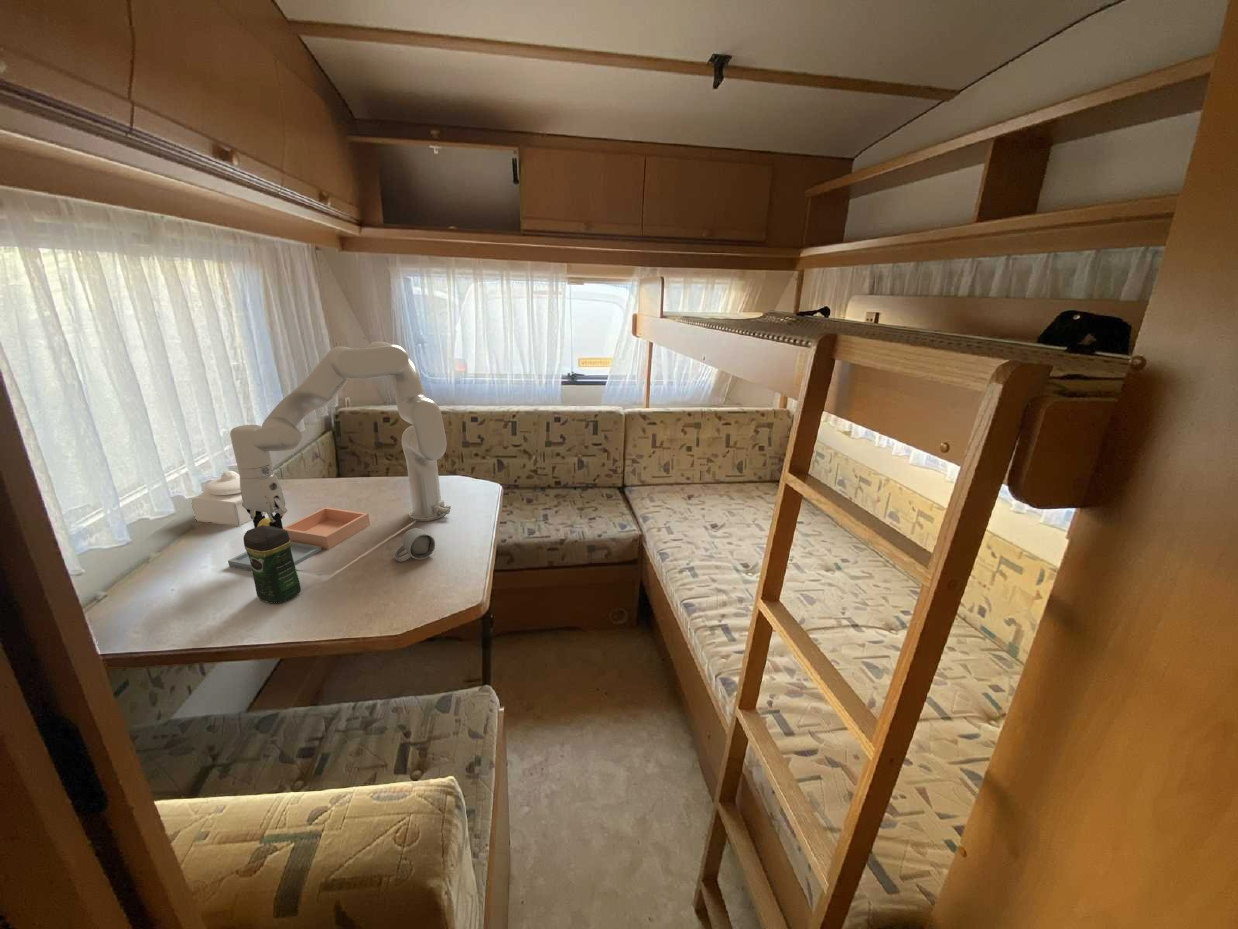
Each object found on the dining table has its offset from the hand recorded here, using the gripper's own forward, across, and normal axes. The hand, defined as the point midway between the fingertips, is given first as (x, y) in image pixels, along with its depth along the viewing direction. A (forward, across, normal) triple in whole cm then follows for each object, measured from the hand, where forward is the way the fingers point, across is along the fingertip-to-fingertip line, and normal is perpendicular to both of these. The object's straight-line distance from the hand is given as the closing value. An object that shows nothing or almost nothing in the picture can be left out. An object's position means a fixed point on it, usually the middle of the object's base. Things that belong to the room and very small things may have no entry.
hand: (269, 531), depth 141 cm
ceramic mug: (+9, -36, -14) cm, 40 cm away
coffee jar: (+9, -16, +13) cm, 23 cm away
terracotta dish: (+9, -2, -17) cm, 19 cm away
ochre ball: (+1, 0, 0) cm, 1 cm away
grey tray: (+9, 0, 0) cm, 9 cm away
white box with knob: (+10, +39, -22) cm, 46 cm away
